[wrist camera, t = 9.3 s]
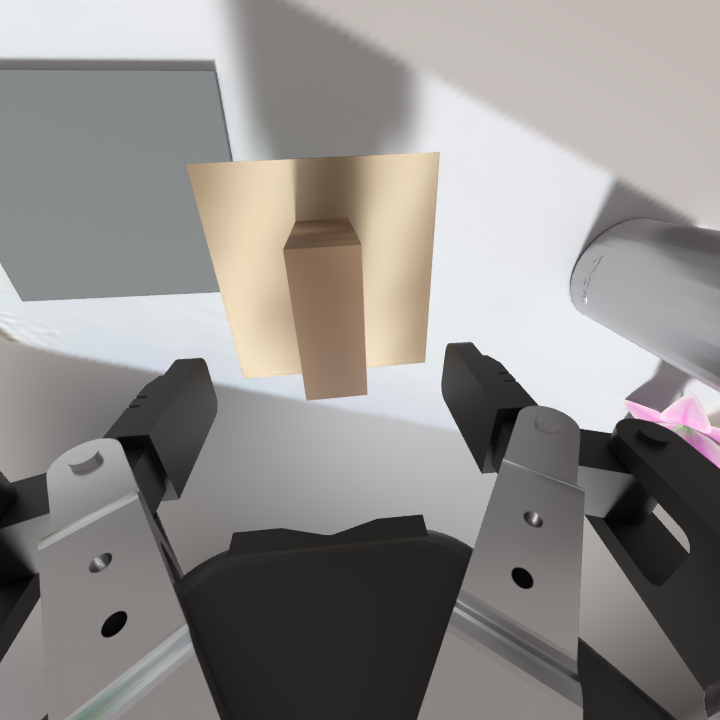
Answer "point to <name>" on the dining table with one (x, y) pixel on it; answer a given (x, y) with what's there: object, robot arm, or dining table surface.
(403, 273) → the lid
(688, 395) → the lily
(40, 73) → the mat
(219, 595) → the robot arm
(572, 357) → the dining table surface
